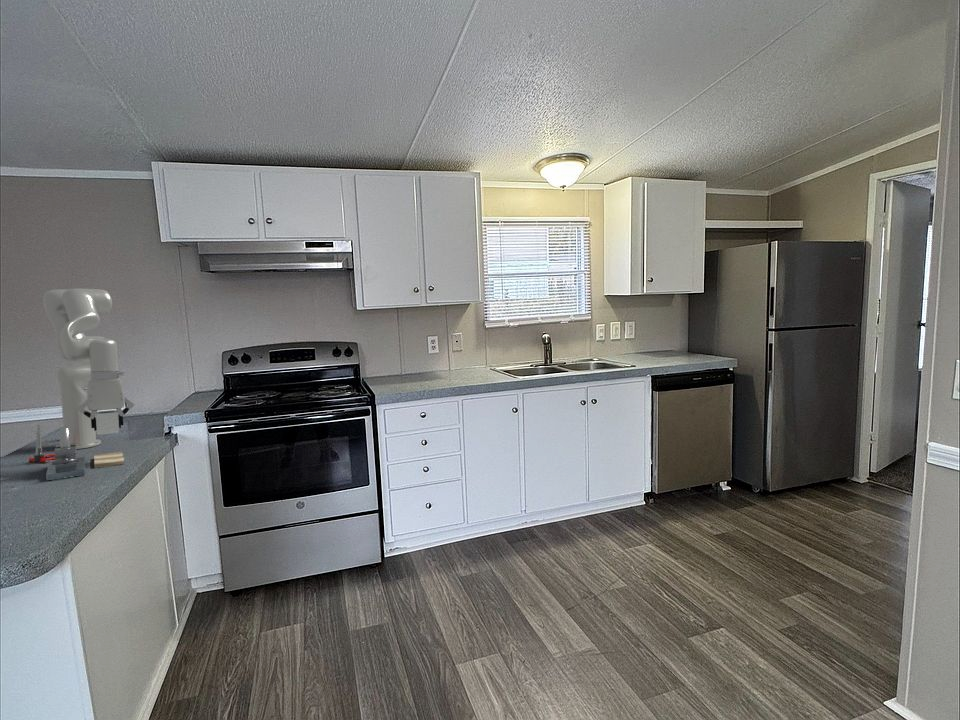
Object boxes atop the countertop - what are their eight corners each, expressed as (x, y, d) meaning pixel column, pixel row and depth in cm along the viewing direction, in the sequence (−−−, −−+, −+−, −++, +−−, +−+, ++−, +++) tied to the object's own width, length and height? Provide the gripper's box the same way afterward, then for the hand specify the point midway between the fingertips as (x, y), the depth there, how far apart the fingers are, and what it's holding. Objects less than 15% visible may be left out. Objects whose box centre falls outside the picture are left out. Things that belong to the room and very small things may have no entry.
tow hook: (53, 456, 178) (25, 462, 169) (53, 420, 178) (25, 424, 169) (73, 457, 177) (47, 463, 168) (73, 421, 176) (47, 425, 167)
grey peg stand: (50, 467, 164) (47, 425, 163) (85, 462, 169) (82, 421, 168) (46, 481, 150) (43, 435, 148) (84, 475, 155) (82, 431, 154)
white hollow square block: (96, 431, 170) (95, 411, 170) (118, 429, 174) (117, 409, 174) (96, 435, 166) (95, 414, 165) (119, 432, 169) (118, 412, 169)
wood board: (94, 458, 174) (94, 455, 174) (122, 455, 179) (122, 451, 179) (94, 468, 163) (94, 464, 163) (124, 464, 168) (124, 460, 168)
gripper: (135, 373, 177) (137, 424, 178) (72, 377, 166) (75, 430, 167) (136, 375, 171) (139, 427, 172) (71, 378, 160) (74, 434, 162)
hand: (107, 428), depth 170 cm, fingers closed on white hollow square block, 6 cm apart
